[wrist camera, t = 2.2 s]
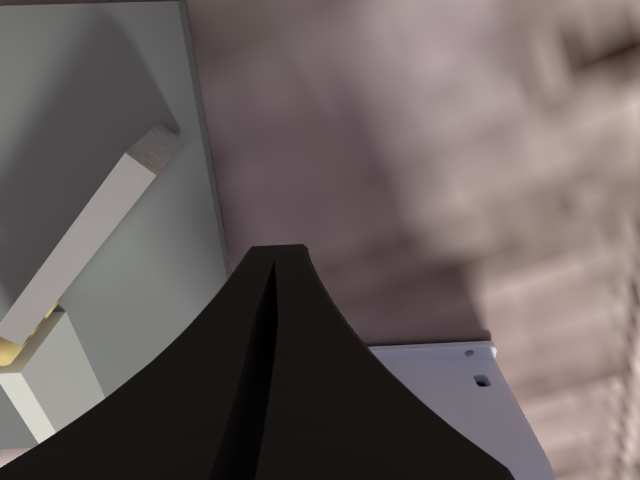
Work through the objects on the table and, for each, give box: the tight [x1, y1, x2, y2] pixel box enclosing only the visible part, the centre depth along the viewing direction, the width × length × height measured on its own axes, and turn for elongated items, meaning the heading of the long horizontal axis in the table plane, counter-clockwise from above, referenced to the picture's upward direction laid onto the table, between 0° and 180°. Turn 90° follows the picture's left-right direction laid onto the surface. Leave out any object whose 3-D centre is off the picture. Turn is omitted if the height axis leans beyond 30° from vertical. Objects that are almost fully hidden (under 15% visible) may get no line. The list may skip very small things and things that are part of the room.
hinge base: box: [0, 1, 231, 449], centre depth 17 cm, size 16×22×4 cm
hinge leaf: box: [0, 122, 184, 346], centre depth 15 cm, size 11×1×3 cm, turn 136°
